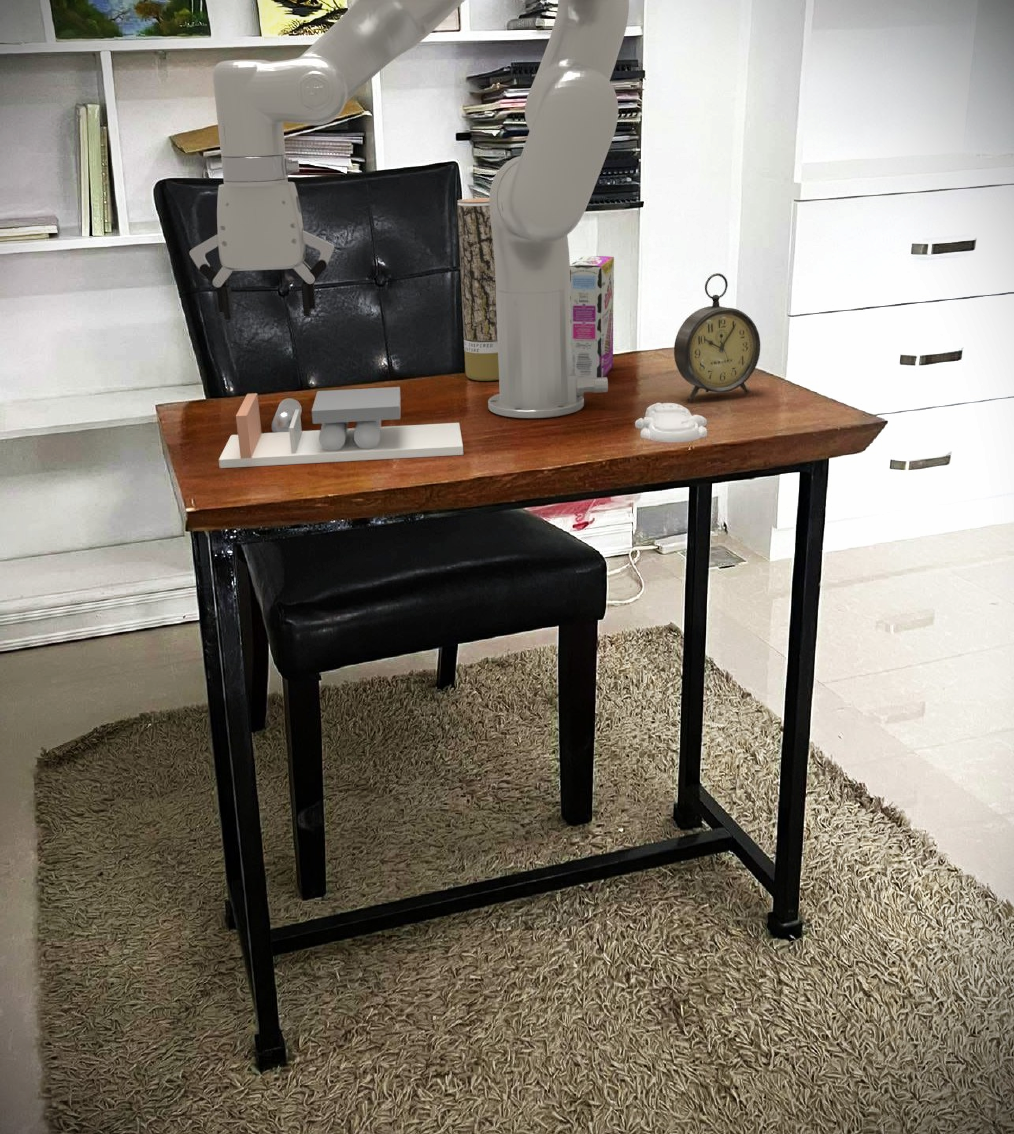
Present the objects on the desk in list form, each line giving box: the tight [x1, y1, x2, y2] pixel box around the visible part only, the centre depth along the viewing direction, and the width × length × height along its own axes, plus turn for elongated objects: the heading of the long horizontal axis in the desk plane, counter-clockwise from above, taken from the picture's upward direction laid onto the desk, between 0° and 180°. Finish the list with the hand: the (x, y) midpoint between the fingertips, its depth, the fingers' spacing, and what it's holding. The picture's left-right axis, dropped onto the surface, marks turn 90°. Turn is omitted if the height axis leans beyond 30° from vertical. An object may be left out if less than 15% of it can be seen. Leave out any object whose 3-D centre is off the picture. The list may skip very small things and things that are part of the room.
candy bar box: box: [570, 255, 615, 378], centre depth 180 cm, size 11×5×16 cm, turn 166°
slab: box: [311, 386, 402, 425], centre depth 148 cm, size 10×10×2 cm
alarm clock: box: [673, 273, 761, 403], centre depth 165 cm, size 11×5×16 cm, turn 110°
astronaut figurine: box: [634, 402, 708, 443], centre depth 152 cm, size 9×12×3 cm
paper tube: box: [456, 197, 499, 382], centre depth 179 cm, size 7×7×25 cm
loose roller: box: [271, 397, 302, 433], centre depth 160 cm, size 3×9×3 cm
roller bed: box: [218, 392, 464, 469], centre depth 149 cm, size 28×11×6 cm, turn 94°
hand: (268, 316), depth 155 cm, fingers open, 9 cm apart
